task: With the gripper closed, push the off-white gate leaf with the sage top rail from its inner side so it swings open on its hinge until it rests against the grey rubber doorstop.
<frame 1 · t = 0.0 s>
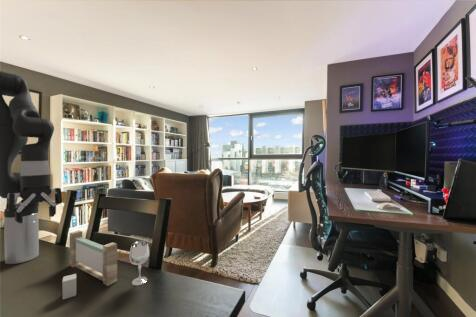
hand: (36, 219, 75), 17 cm above the table, tool pointing down, fingers open, 8 cm apart
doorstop: (69, 294, 61), on the table
wineglass: (139, 281, 68), on the table
gate frame: (92, 272, 72), on the table
gate leaf: (91, 255, 72), point 6 cm above the table, hinge at 0.0°
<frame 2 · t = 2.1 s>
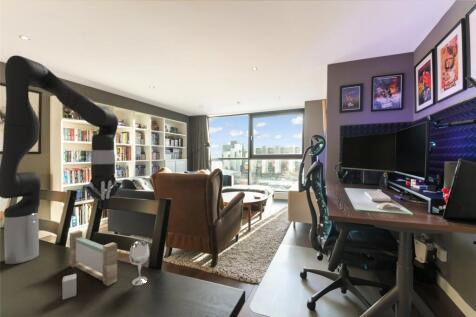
hand: (103, 209, 79), 20 cm above the table, tool pointing down, fingers closed
nothing on the table moved.
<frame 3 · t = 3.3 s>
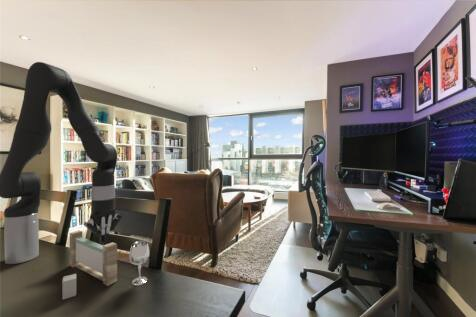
hand: (104, 243, 79), 7 cm above the table, tool pointing down, fingers closed
nothing on the table moved.
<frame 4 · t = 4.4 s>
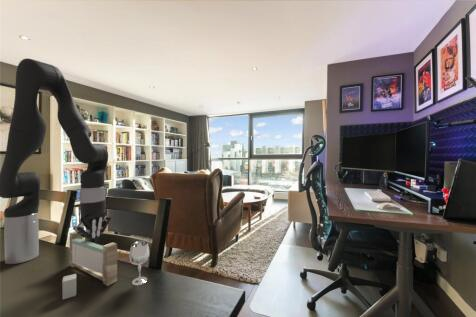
hand: (93, 247, 77), 7 cm above the table, tool pointing down, fingers closed
gate leaf: (90, 256, 72), point 6 cm above the table, hinge at 3.7°, touching gripper
everything else where it was.
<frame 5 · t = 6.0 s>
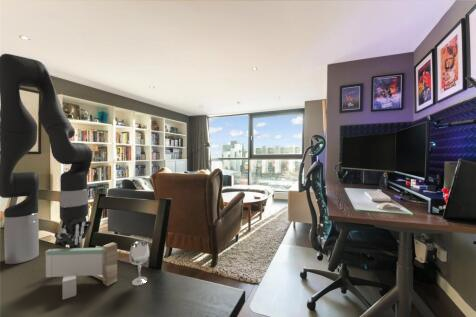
hand: (75, 254, 71), 7 cm above the table, tool pointing down, fingers closed
gate leaf: (78, 262, 68), point 6 cm above the table, hinge at 34.0°, touching gripper
everything else where it was.
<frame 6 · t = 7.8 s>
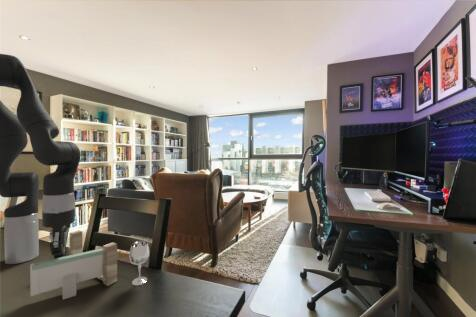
hand: (59, 264, 64), 7 cm above the table, tool pointing down, fingers closed
gate leaf: (73, 269, 63), point 6 cm above the table, hinge at 65.7°, touching gripper
everything else where it was.
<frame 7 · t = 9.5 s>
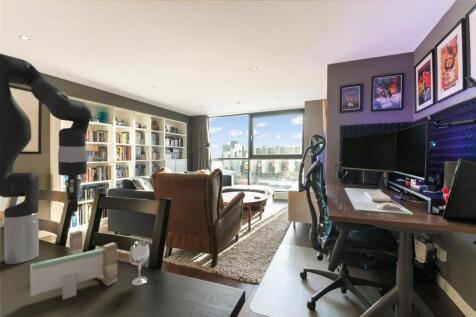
hand: (73, 211, 72), 21 cm above the table, tool pointing down, fingers closed
gate leaf: (73, 269, 63), point 6 cm above the table, hinge at 65.5°
everything else where it was.
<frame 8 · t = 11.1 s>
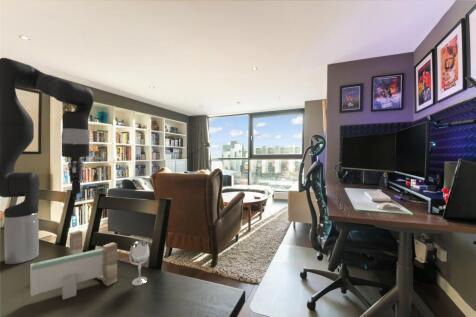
hand: (76, 193, 73), 27 cm above the table, tool pointing down, fingers closed
nothing on the table moved.
at the end: gate leaf at +66° (first picture: +0°); wineglass moved 0.2 cm from its start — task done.
